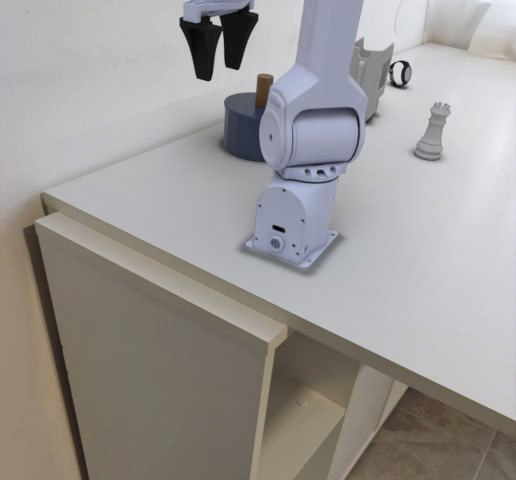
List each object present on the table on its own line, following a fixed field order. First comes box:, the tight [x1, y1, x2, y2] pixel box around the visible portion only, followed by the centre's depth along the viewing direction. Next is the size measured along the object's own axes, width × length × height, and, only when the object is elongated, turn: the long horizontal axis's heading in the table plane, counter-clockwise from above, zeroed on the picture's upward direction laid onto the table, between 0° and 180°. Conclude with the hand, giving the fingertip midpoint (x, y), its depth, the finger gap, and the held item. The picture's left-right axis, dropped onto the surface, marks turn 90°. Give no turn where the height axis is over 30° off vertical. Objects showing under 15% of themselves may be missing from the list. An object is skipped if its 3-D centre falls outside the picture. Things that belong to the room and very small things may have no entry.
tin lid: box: [223, 73, 275, 122], centre depth 79 cm, size 12×12×5 cm
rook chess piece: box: [413, 101, 452, 161], centre depth 85 cm, size 4×4×8 cm
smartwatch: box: [388, 60, 413, 88], centre depth 115 cm, size 4×5×5 cm
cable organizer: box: [349, 36, 395, 122], centre depth 96 cm, size 7×12×12 cm, turn 157°
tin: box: [222, 108, 266, 162], centre depth 82 cm, size 11×11×6 cm
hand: (218, 73), depth 76 cm, fingers open, 7 cm apart
